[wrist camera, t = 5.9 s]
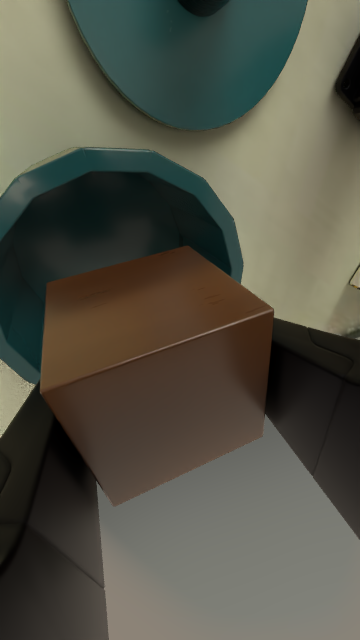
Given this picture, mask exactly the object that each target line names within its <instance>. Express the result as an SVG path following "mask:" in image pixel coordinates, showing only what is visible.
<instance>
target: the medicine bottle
mask: <svg viewBox="0 0 360 640" xmlns="http://www.w3.org/2000/svg"><path fill="white" fill-rule="evenodd" d="M350 285H351V286H353V287H355V288H357V289H359V290H360V267H359V268H358V270H357V272H356V273H355V275H354V276H353V278H352V280H351V281H350Z"/></svg>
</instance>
